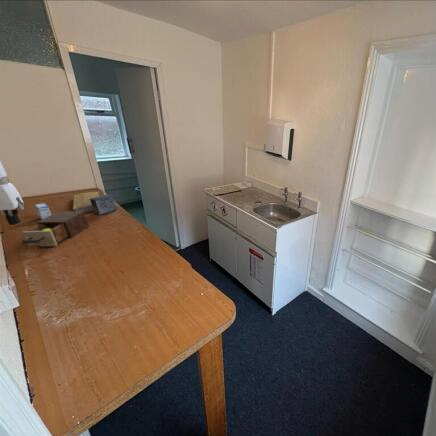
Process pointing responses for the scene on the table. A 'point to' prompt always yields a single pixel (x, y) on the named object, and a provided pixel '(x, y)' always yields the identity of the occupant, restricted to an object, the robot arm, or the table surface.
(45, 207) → the medicine box
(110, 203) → the small box
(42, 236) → the drawer
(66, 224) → the cabinet
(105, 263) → the table surface
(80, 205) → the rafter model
